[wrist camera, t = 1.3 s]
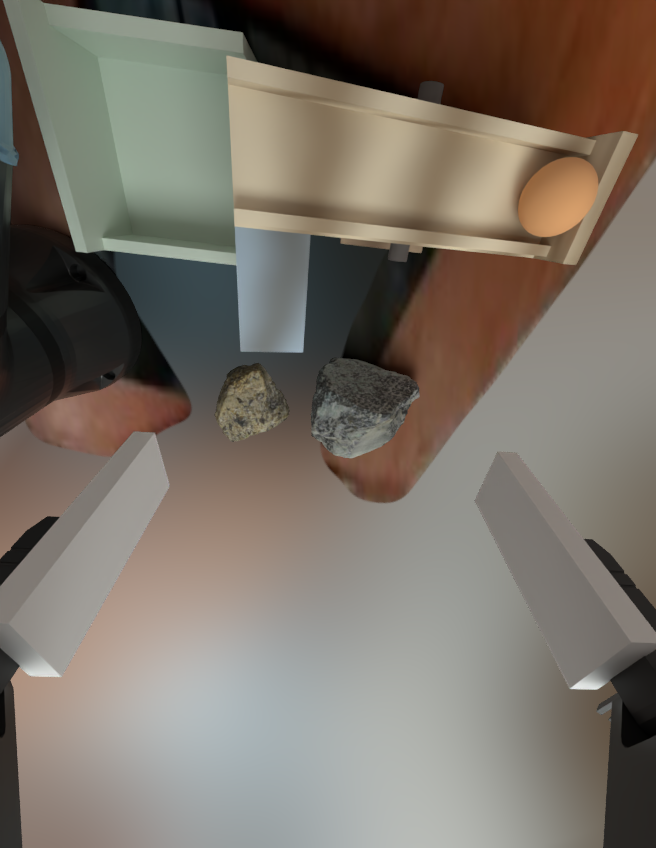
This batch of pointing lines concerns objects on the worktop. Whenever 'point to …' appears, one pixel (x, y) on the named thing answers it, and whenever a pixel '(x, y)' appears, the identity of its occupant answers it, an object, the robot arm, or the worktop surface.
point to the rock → (249, 403)
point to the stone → (359, 406)
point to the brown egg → (558, 197)
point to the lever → (378, 183)
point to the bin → (134, 127)
